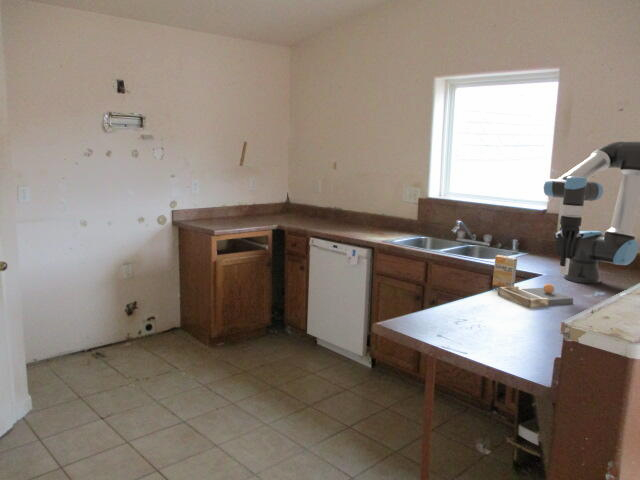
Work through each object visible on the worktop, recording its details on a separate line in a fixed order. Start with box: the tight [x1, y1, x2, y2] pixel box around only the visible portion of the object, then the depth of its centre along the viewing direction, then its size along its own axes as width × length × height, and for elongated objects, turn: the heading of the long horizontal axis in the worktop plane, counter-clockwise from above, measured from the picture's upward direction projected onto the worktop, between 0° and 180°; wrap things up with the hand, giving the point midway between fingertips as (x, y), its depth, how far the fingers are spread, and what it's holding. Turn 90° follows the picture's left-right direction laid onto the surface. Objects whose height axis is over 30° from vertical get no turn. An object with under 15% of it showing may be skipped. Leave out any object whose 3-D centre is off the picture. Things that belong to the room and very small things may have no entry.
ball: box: [542, 283, 555, 294], centre depth 211 cm, size 4×4×4 cm
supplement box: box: [492, 254, 518, 287], centre depth 227 cm, size 8×5×13 cm, turn 52°
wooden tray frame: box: [497, 285, 549, 308], centre depth 208 cm, size 9×18×3 cm, turn 19°
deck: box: [518, 287, 574, 306], centre depth 211 cm, size 13×16×2 cm
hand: (563, 273), depth 212 cm, fingers closed
